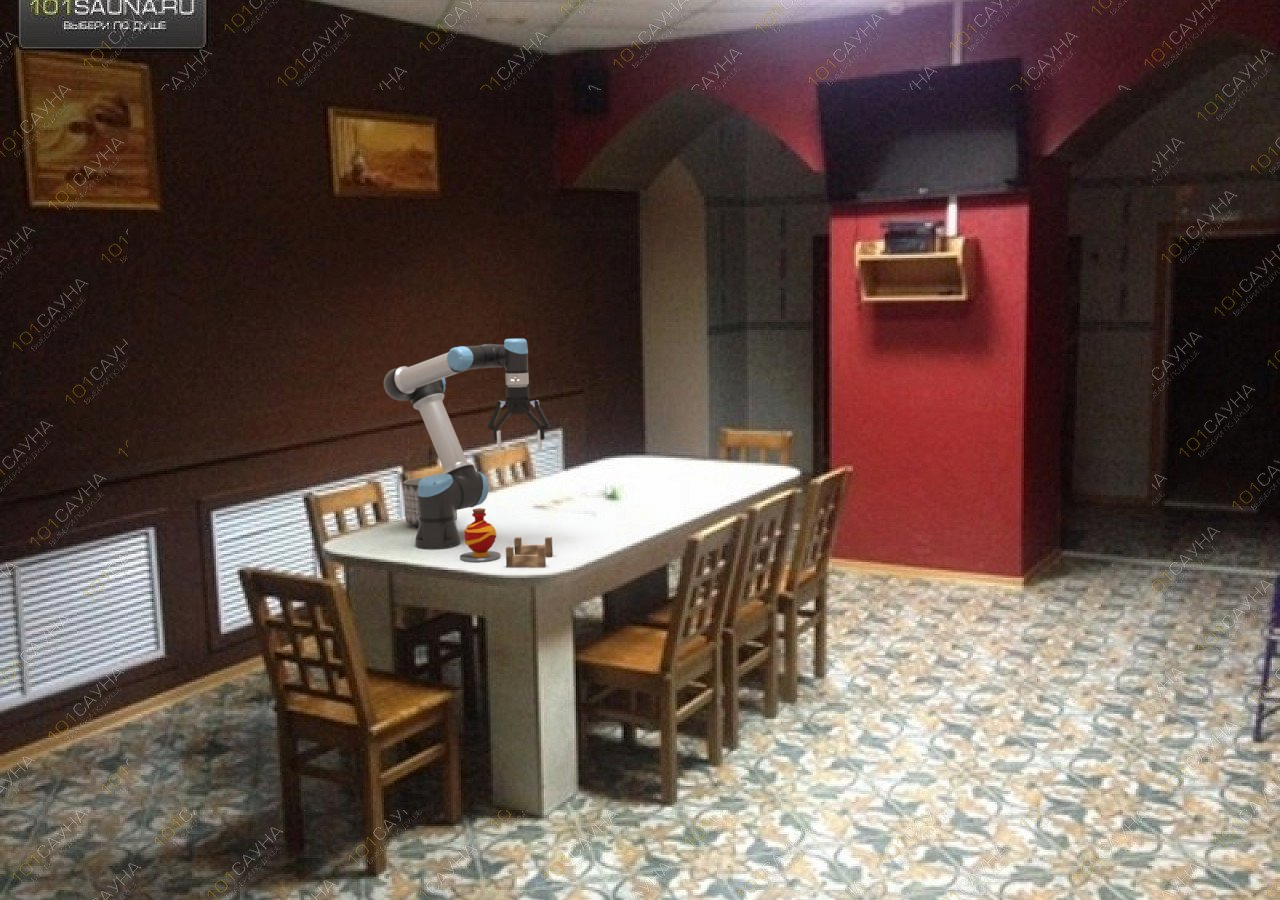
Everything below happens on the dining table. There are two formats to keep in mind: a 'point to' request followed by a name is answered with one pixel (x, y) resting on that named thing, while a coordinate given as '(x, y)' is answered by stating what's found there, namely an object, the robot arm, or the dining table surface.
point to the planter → (414, 501)
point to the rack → (528, 554)
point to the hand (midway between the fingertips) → (519, 450)
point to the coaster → (470, 558)
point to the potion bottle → (479, 534)
